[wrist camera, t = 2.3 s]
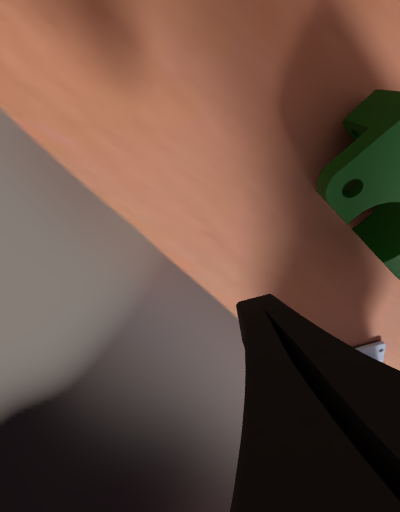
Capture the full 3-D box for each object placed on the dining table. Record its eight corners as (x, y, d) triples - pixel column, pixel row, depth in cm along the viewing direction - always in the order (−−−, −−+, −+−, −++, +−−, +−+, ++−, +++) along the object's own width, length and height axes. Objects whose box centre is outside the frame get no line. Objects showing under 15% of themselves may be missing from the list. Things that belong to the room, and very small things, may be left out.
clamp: (292, 165, 22) (294, 167, 14) (356, 105, 19) (403, 65, 11) (383, 263, 22) (436, 320, 14) (459, 218, 20) (576, 257, 12)
